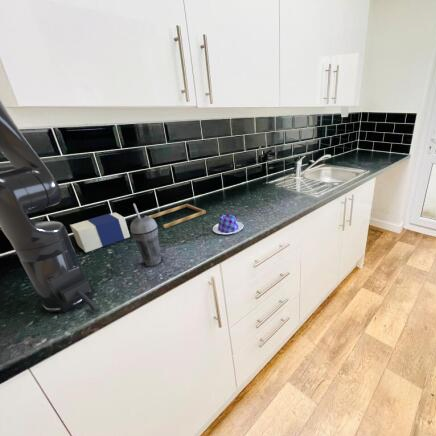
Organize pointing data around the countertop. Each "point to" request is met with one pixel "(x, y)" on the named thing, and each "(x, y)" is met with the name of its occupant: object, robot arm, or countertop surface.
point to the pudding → (227, 225)
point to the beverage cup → (146, 238)
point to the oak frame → (181, 218)
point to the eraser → (100, 231)
